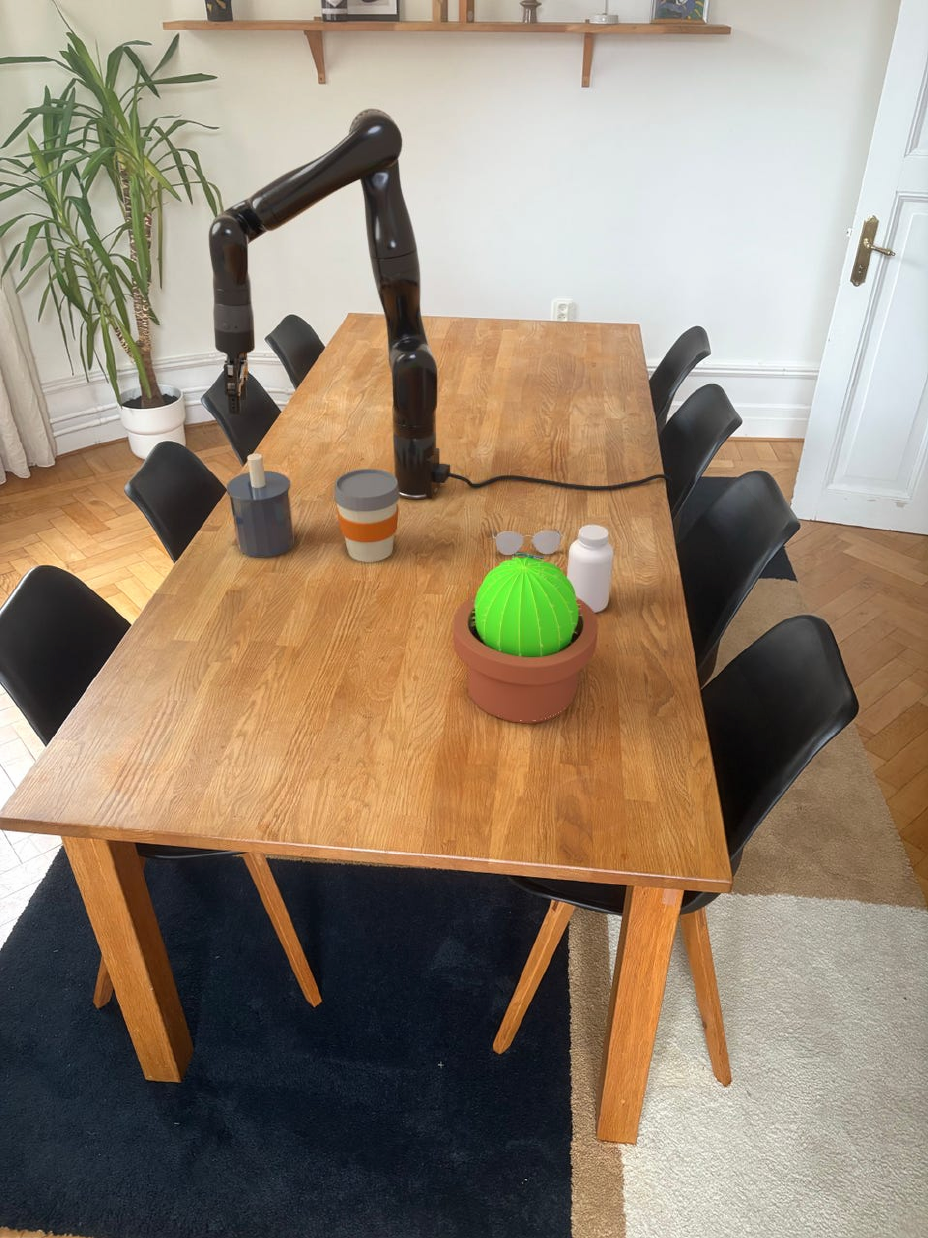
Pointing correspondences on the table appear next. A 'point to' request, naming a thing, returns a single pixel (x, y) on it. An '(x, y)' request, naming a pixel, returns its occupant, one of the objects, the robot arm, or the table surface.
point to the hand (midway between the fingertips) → (238, 406)
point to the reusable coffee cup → (367, 512)
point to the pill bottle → (591, 566)
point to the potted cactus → (524, 640)
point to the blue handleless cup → (263, 526)
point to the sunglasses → (541, 540)
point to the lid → (258, 483)
